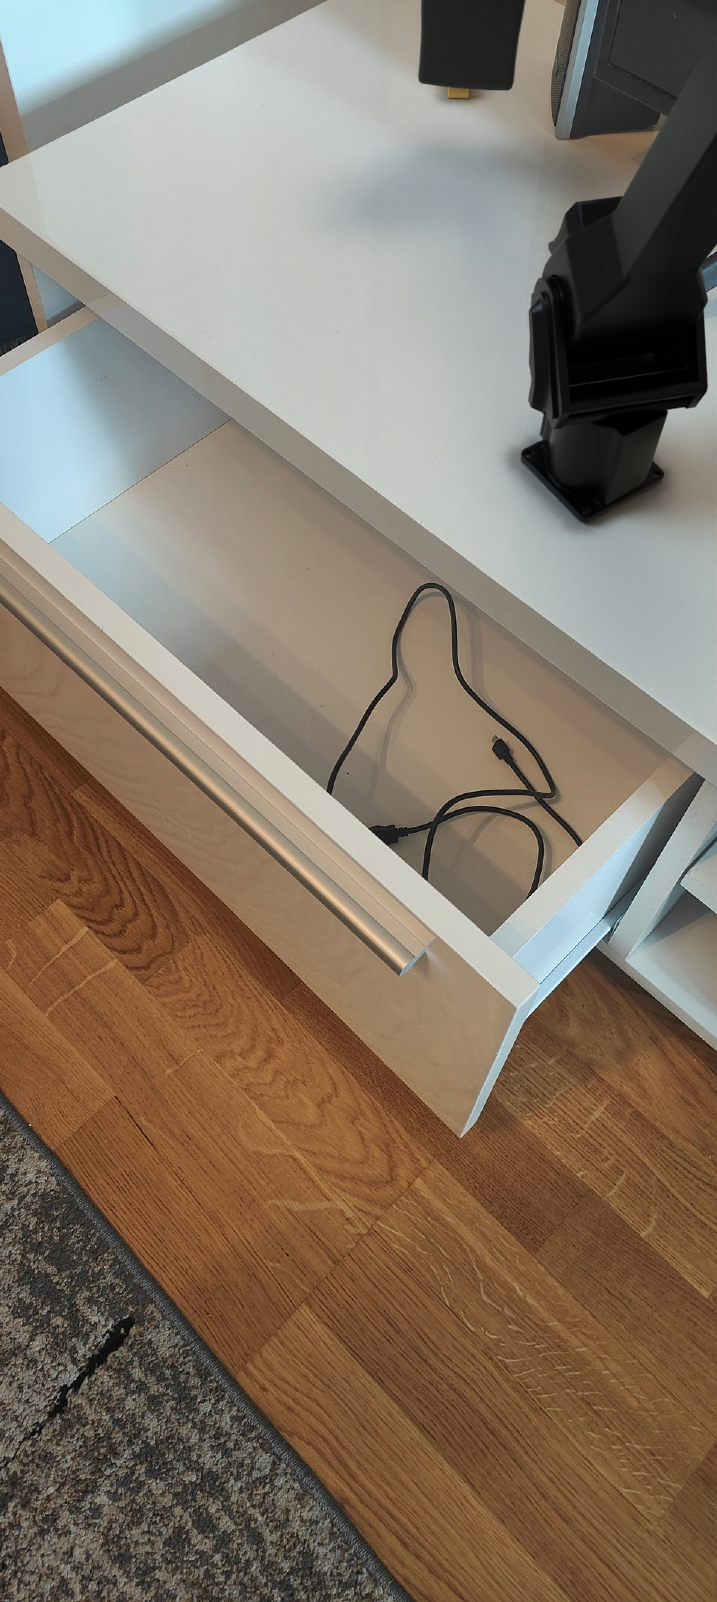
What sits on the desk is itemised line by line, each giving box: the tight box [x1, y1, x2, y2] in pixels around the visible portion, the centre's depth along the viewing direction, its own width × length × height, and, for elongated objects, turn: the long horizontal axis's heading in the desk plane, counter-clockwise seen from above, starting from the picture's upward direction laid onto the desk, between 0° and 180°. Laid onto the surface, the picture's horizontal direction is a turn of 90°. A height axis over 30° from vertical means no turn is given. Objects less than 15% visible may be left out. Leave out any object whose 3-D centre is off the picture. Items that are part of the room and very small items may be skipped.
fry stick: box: [447, 87, 470, 99], centre depth 89 cm, size 8×2×1 cm, turn 178°
